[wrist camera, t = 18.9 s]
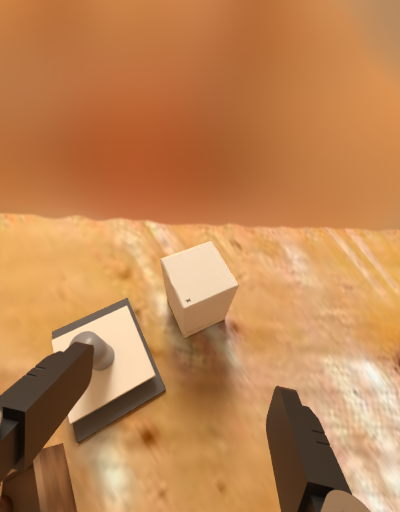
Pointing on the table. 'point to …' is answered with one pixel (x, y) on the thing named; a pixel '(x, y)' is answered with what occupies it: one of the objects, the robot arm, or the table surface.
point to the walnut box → (40, 485)
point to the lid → (109, 360)
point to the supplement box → (198, 287)
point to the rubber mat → (125, 401)
